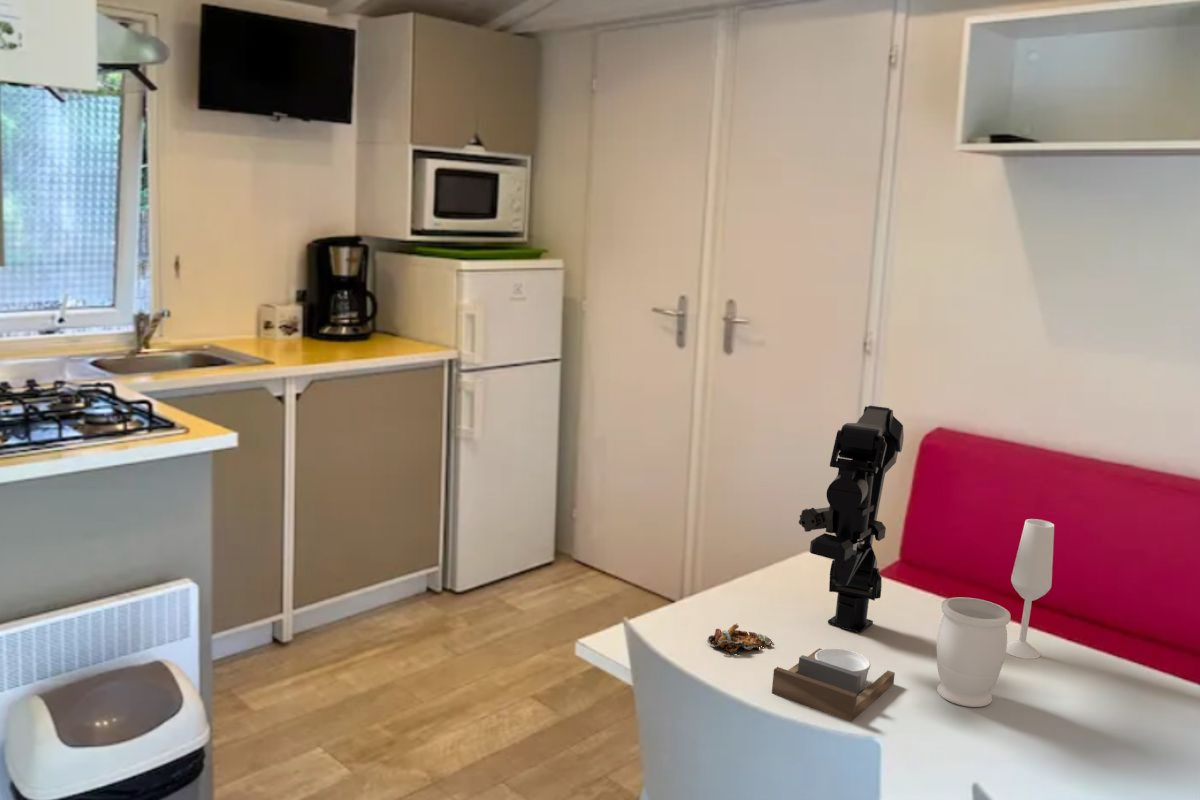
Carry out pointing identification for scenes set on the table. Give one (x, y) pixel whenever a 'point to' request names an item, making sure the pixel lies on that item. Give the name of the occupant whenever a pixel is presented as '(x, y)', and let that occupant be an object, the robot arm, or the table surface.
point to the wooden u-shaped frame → (827, 692)
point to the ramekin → (846, 661)
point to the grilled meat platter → (738, 640)
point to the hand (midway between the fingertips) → (843, 585)
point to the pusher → (829, 674)
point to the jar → (970, 649)
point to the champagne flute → (1032, 577)
